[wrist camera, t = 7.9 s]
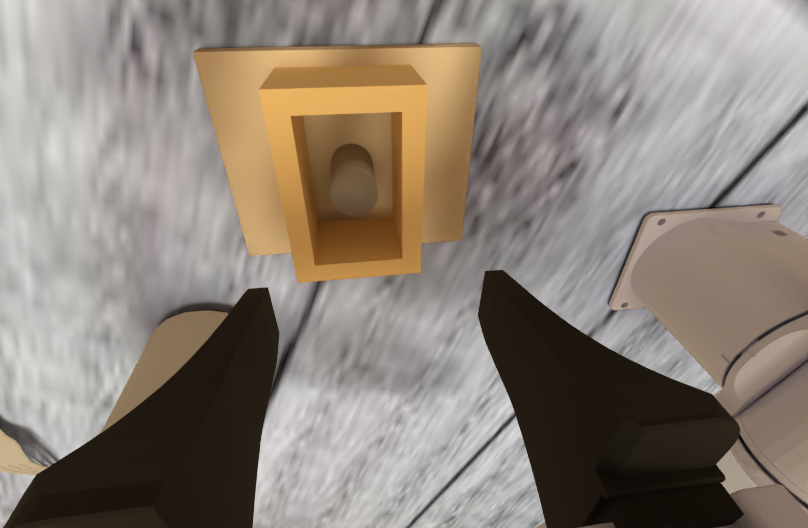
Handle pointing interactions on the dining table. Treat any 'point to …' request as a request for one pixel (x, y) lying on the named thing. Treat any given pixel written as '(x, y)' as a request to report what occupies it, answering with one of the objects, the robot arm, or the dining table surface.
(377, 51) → the wooden block with peg
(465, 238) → the dining table surface
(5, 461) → the fork
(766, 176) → the dining table surface
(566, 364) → the robot arm
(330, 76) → the link
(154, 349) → the can
